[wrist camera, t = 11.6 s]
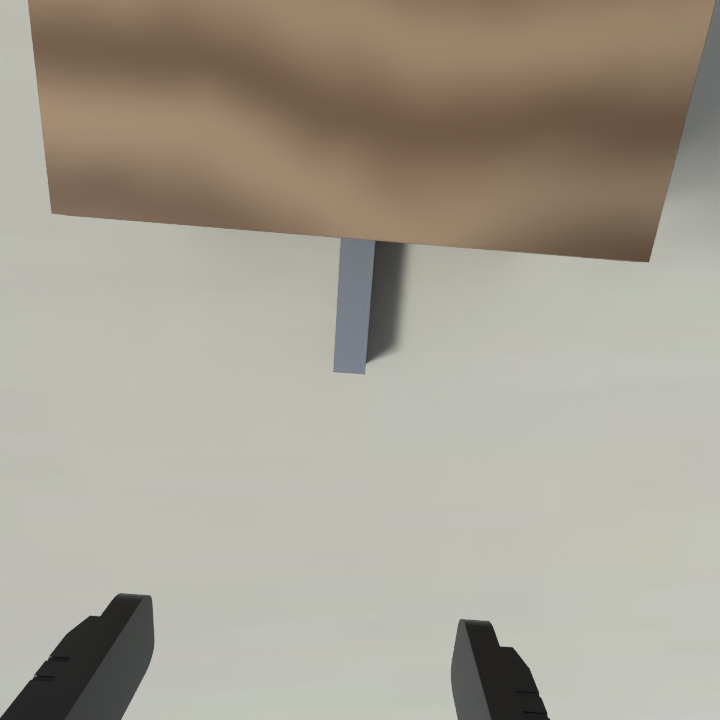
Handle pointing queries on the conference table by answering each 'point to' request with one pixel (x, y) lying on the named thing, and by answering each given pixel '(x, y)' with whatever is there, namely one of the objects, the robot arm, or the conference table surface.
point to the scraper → (353, 305)
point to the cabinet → (372, 117)
